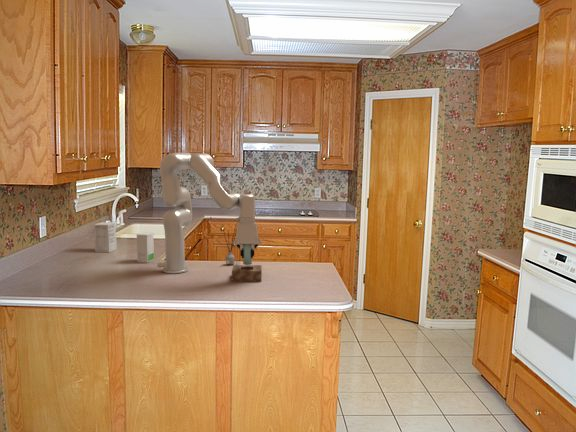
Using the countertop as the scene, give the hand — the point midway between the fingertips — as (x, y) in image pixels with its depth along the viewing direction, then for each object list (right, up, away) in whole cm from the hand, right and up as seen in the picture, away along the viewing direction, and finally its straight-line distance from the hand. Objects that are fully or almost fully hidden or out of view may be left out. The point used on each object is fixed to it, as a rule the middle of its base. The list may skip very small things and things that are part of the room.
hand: (247, 257), depth 246 cm
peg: (0, -3, 0) cm, 3 cm away
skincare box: (-59, -5, +35) cm, 69 cm away
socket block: (0, -10, +2) cm, 10 cm away
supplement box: (-90, -1, +62) cm, 109 cm away
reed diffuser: (-11, -7, +30) cm, 32 cm away
